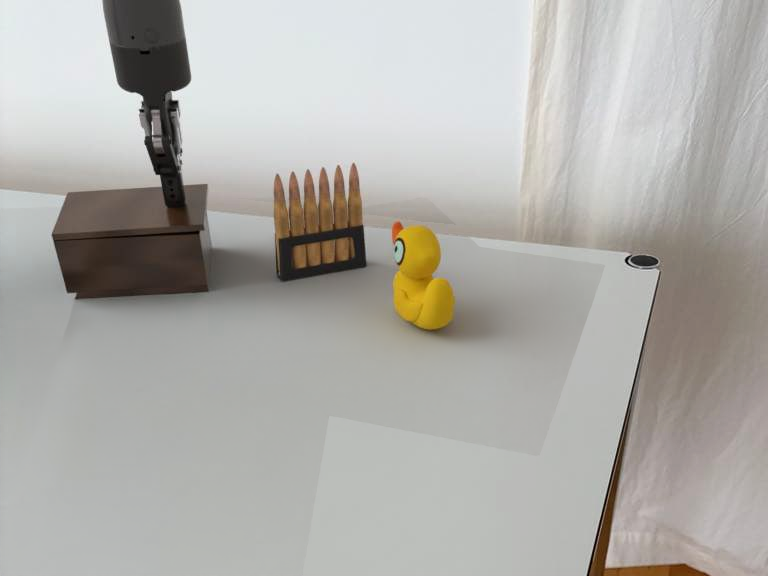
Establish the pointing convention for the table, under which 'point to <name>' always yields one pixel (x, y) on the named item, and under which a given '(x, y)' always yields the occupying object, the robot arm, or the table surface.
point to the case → (136, 264)
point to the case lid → (129, 213)
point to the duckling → (420, 278)
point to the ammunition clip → (318, 227)
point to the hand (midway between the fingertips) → (175, 204)
